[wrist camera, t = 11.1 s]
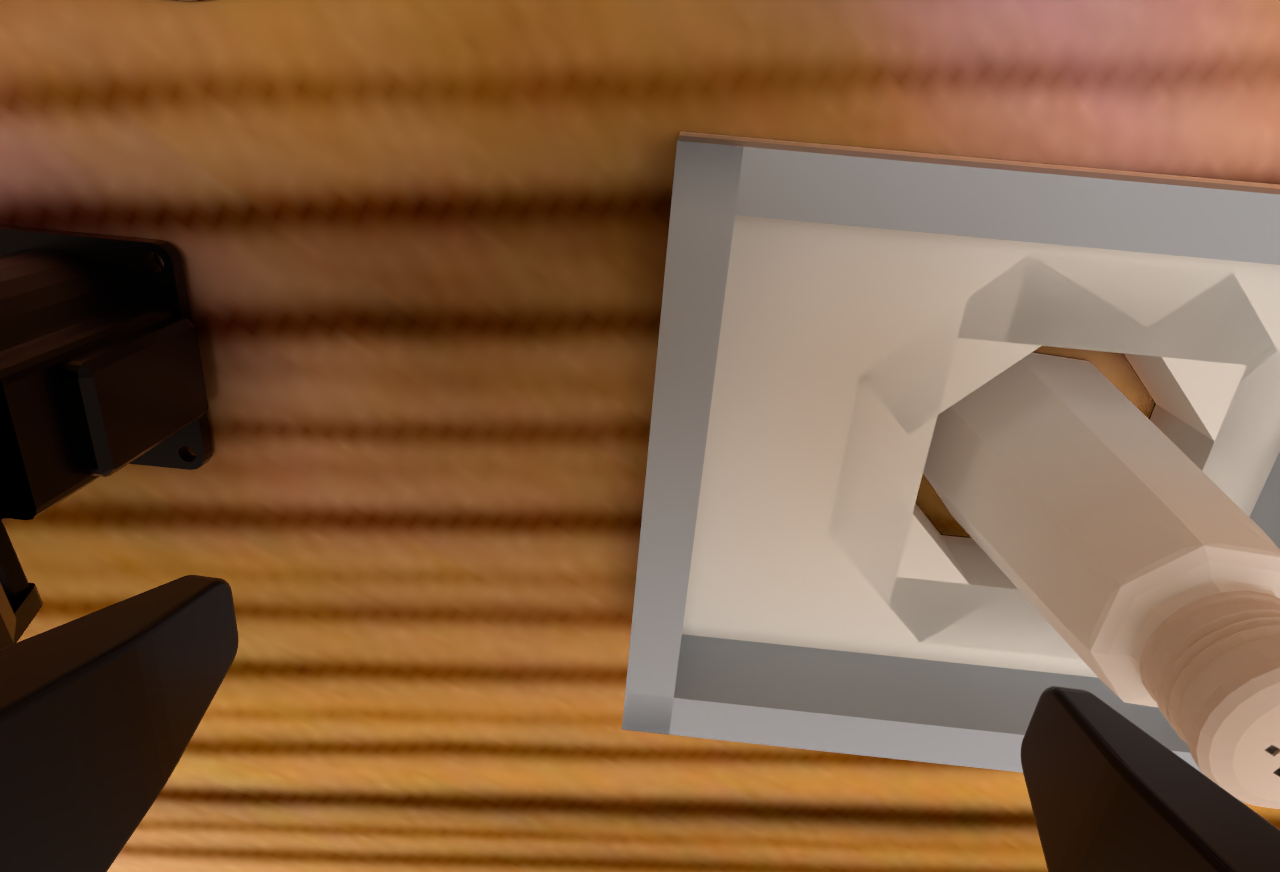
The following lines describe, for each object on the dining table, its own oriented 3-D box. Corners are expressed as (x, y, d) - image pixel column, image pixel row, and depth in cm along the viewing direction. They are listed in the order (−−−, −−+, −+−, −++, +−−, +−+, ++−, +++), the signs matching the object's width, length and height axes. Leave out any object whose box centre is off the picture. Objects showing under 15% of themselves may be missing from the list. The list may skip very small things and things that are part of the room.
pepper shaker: (1004, 305, 20) (1336, 521, 10) (1164, 409, 20) (1624, 709, 10) (873, 467, 22) (1032, 786, 12) (1023, 556, 22) (1294, 925, 12)
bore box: (634, 610, 24) (621, 729, 19) (680, 131, 18) (677, 140, 14) (1150, 663, 24) (1260, 797, 19) (1358, 191, 18) (1585, 221, 13)
